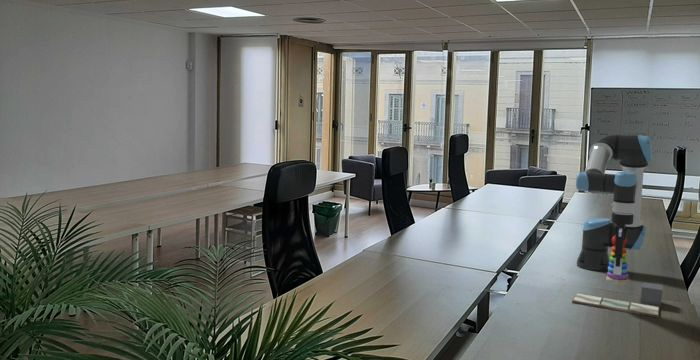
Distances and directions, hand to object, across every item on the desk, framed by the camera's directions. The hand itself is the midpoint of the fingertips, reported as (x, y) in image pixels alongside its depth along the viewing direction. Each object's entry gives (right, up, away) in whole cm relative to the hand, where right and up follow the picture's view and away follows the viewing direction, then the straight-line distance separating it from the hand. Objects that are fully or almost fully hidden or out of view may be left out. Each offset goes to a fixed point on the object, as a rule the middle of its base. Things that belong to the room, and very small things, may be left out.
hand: (617, 271), depth 223 cm
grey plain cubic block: (+16, -13, +6) cm, 21 cm away
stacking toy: (0, -4, 0) cm, 4 cm away
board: (0, -13, +2) cm, 14 cm away
